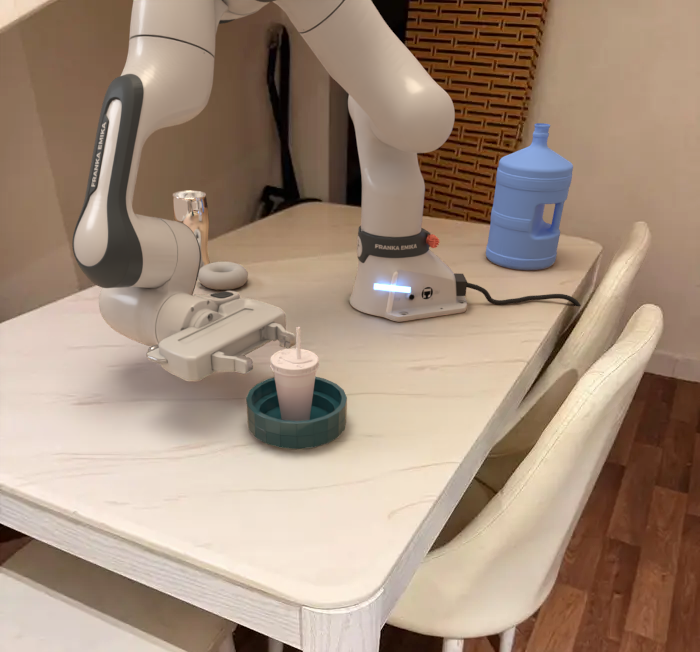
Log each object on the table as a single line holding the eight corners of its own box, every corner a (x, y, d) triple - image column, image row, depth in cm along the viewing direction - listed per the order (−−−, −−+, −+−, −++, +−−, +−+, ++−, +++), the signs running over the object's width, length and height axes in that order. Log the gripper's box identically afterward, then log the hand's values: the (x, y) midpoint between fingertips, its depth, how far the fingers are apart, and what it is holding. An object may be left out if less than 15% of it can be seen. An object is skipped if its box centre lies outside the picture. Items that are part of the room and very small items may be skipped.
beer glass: (181, 262, 150) (173, 189, 142) (214, 262, 151) (208, 190, 142) (177, 273, 145) (169, 198, 136) (211, 273, 145) (205, 198, 137)
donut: (215, 273, 146) (188, 287, 138) (213, 256, 144) (187, 270, 136) (257, 280, 143) (232, 295, 135) (256, 263, 141) (231, 278, 134)
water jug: (477, 265, 155) (496, 126, 139) (493, 245, 167) (512, 116, 151) (548, 276, 150) (576, 134, 134) (559, 255, 162) (586, 122, 146)
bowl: (335, 398, 103) (335, 371, 100) (355, 447, 92) (356, 418, 90) (243, 406, 100) (242, 378, 98) (253, 457, 90) (252, 427, 87)
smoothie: (312, 437, 93) (312, 340, 85) (266, 431, 94) (261, 334, 86) (323, 413, 98) (324, 320, 90) (279, 408, 99) (276, 314, 91)
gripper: (135, 332, 89) (217, 360, 83) (238, 286, 104) (315, 307, 98) (142, 376, 93) (221, 406, 87) (241, 326, 107) (315, 349, 101)
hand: (271, 353), depth 92 cm, fingers open, 8 cm apart
